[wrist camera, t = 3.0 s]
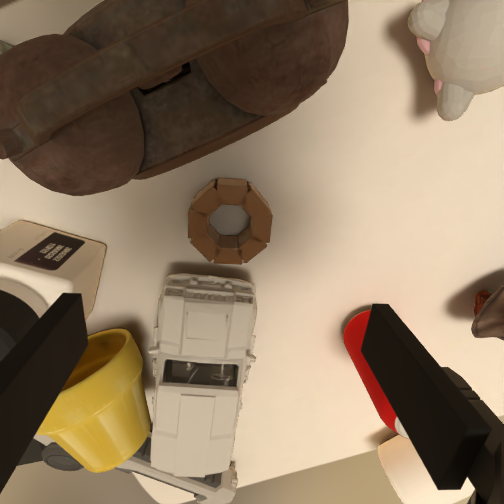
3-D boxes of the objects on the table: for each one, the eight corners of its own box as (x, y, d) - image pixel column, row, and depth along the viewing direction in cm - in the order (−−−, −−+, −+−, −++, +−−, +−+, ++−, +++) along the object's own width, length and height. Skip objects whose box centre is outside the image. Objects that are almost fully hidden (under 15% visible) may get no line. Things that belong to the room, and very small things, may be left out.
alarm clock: (267, -8, 24) (399, -399, 5) (300, 94, 26) (460, 67, 8) (91, 80, 25) (-271, 7, 7) (141, 168, 28) (-22, 283, 10)
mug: (420, 533, 36) (421, 492, 46) (508, 492, 34) (488, 458, 44) (372, 455, 40) (383, 433, 50) (448, 413, 38) (443, 399, 48)
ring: (192, 175, 29) (188, 182, 26) (271, 181, 29) (275, 188, 27) (191, 248, 32) (187, 262, 29) (263, 252, 32) (266, 266, 29)
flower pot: (152, 479, 27) (99, 382, 24) (39, 508, 28) (-23, 418, 25) (180, 392, 37) (145, 317, 34) (96, 415, 38) (56, 344, 35)
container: (19, 217, 29) (-124, 293, 17) (107, 243, 31) (32, 329, 19) (11, 289, 32) (-116, 397, 20) (93, 310, 34) (19, 421, 22)
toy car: (264, 266, 33) (278, 329, 23) (238, 411, 40) (241, 500, 31) (160, 255, 31) (132, 317, 22) (154, 407, 39) (131, 498, 30)
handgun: (170, 533, 47) (240, 506, 40) (-52, 467, 36) (-5, 415, 29) (178, 490, 51) (242, 460, 44) (-18, 419, 40) (29, 365, 33)
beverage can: (336, 350, 38) (381, 449, 27) (343, 304, 35) (396, 393, 24) (388, 348, 38) (452, 446, 27) (398, 303, 36) (474, 390, 25)
